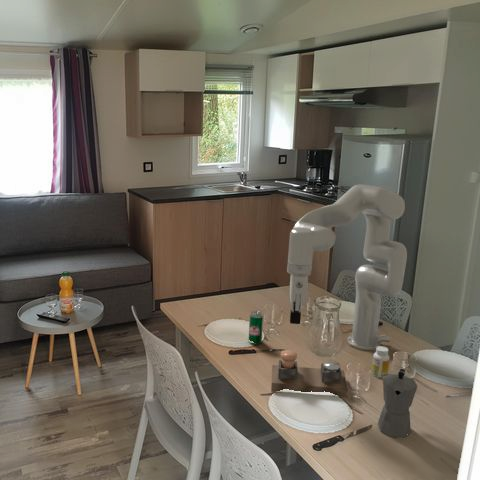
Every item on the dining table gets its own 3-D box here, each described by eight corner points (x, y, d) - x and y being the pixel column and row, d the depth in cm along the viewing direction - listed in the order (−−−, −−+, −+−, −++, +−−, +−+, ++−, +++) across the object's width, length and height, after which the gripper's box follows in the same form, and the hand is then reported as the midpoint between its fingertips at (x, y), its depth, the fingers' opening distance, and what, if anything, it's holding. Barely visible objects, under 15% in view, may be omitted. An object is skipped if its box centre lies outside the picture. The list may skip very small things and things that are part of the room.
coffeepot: (408, 446, 147) (417, 387, 142) (373, 437, 150) (381, 379, 145) (413, 416, 161) (420, 362, 156) (381, 409, 164) (387, 355, 159)
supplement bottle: (387, 372, 187) (390, 346, 184) (387, 379, 182) (390, 353, 179) (371, 369, 188) (374, 344, 186) (370, 376, 183) (374, 350, 181)
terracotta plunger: (295, 363, 177) (296, 350, 176) (296, 371, 172) (297, 358, 171) (280, 362, 178) (281, 349, 177) (280, 370, 173) (280, 356, 172)
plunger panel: (342, 378, 181) (344, 361, 179) (347, 397, 170) (348, 378, 168) (272, 372, 183) (273, 355, 181) (271, 391, 171) (272, 372, 169)
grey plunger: (337, 374, 177) (338, 361, 176) (339, 382, 172) (340, 368, 171) (321, 373, 177) (323, 359, 176) (322, 380, 172) (324, 367, 171)
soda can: (246, 343, 204) (248, 314, 201) (251, 338, 208) (252, 309, 205) (259, 345, 202) (261, 316, 199) (263, 340, 207) (265, 311, 204)
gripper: (313, 276, 159) (308, 333, 163) (310, 261, 173) (305, 314, 178) (287, 274, 159) (283, 331, 164) (286, 260, 174) (282, 313, 178)
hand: (294, 322), depth 171 cm, fingers closed
